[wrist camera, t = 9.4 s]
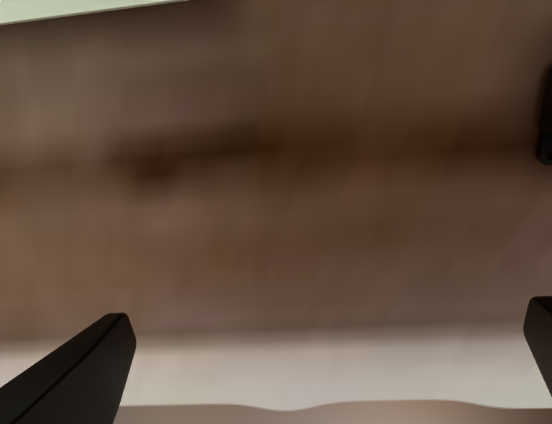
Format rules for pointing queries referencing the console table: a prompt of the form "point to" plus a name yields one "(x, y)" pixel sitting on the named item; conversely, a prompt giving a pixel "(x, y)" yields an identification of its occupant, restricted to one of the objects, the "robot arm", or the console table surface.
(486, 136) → the console table surface
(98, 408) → the robot arm
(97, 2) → the cover sheet
